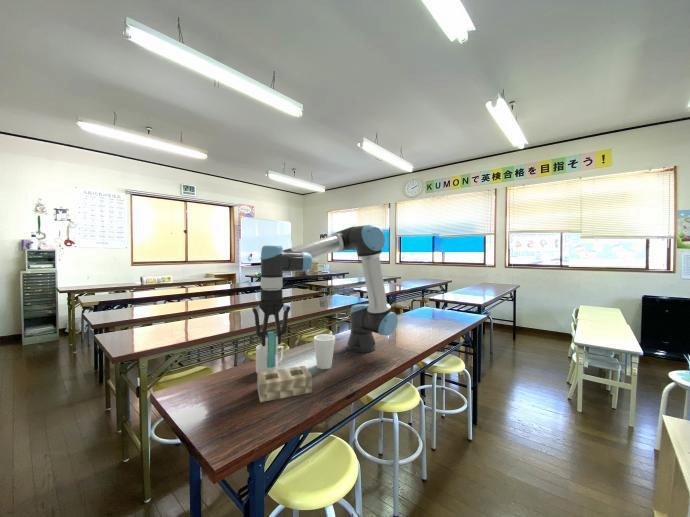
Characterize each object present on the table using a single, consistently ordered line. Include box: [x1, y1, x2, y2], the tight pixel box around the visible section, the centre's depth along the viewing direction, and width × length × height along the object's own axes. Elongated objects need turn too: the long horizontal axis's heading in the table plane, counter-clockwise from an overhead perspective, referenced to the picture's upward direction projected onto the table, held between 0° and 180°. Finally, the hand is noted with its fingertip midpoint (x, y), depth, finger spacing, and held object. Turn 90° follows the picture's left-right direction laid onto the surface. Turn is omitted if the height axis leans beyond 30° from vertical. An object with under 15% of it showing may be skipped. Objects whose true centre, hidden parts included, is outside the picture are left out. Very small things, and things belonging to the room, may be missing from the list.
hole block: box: [256, 365, 313, 403], centre depth 103 cm, size 18×10×6 cm, turn 112°
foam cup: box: [313, 333, 336, 370], centre depth 125 cm, size 10×9×13 cm
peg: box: [266, 331, 277, 368], centre depth 101 cm, size 3×3×12 cm
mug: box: [255, 343, 285, 374], centre depth 119 cm, size 12×9×11 cm
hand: (271, 353), depth 101 cm, fingers closed on peg, 3 cm apart
